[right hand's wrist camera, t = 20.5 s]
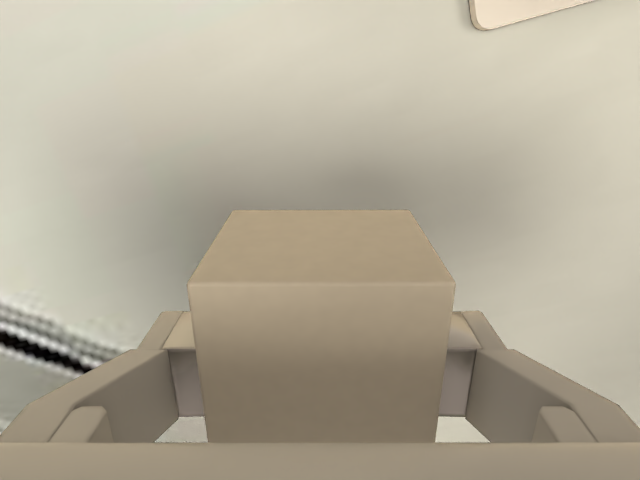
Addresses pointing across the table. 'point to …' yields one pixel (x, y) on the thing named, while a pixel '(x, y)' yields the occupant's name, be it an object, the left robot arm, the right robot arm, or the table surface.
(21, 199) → the table surface
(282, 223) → the block
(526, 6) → the tablet stand
